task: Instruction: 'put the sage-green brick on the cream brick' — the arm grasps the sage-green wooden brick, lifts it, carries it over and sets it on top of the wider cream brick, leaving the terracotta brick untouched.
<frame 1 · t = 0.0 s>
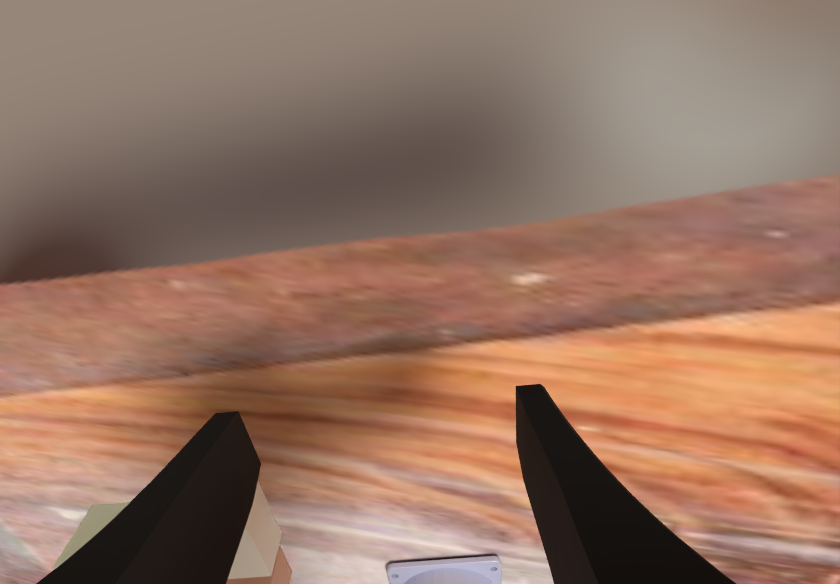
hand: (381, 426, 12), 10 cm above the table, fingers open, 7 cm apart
terracotta brick: (245, 560, 34), on the table
cream brick: (240, 505, 31), on the table
green brick: (137, 529, 32), on the table
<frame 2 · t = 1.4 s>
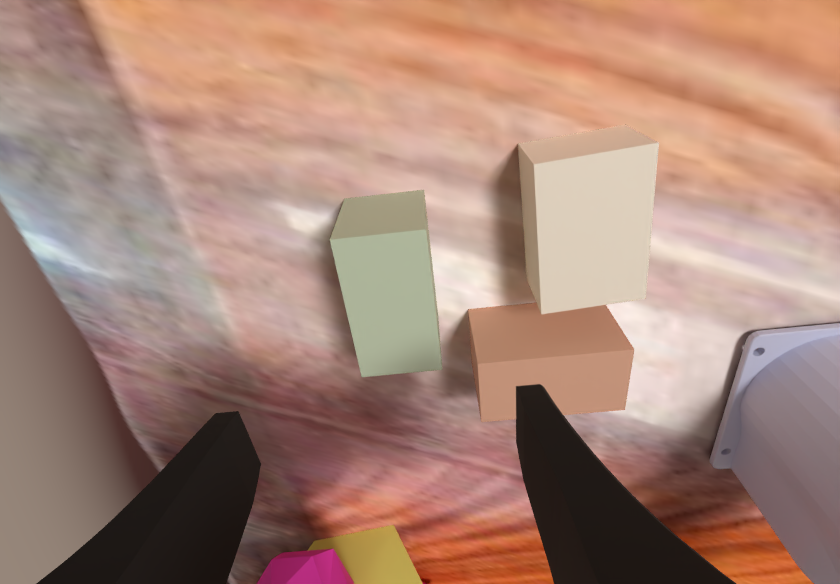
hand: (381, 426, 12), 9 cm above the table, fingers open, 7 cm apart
terracotta brick: (532, 329, 22), on the table
cream brick: (570, 206, 19), on the table
green brick: (394, 259, 20), on the table
toy: (356, 550, 32), on the table
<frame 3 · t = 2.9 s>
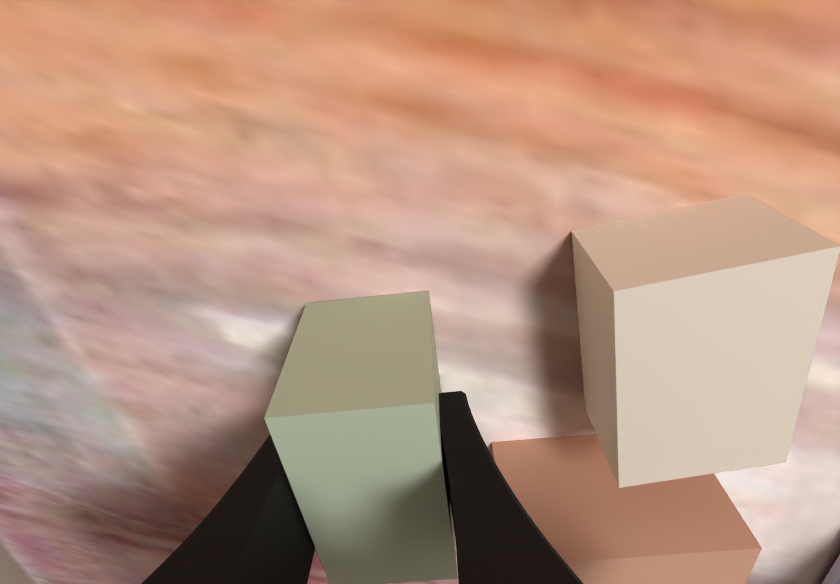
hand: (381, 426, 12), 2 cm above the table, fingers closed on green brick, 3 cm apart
terracotta brick: (582, 465, 16), on the table
cream brick: (651, 310, 13), on the table
green brick: (384, 384, 14), on the table, touching gripper
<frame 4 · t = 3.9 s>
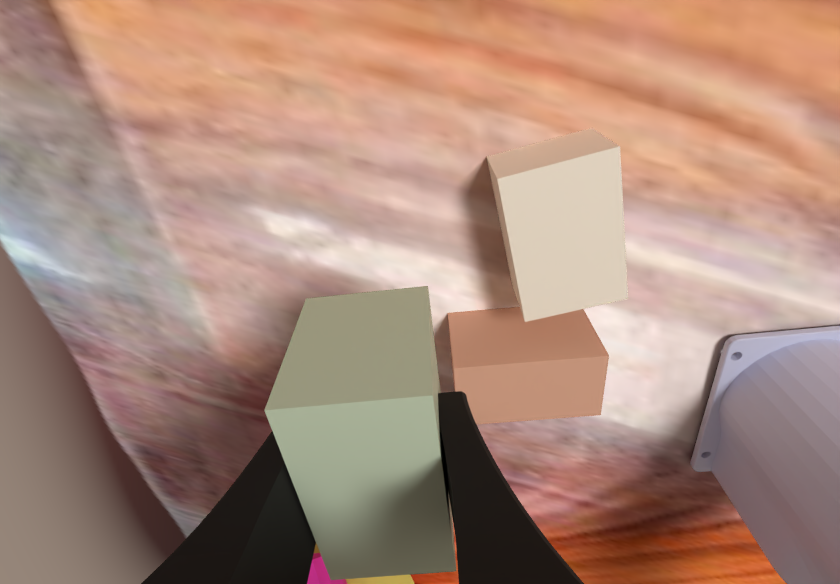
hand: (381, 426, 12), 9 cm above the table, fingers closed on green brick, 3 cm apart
terracotta brick: (512, 333, 23), on the table
cream brick: (547, 212, 20), on the table
green brick: (383, 379, 14), point 8 cm above the table, touching gripper
toy: (350, 552, 32), on the table
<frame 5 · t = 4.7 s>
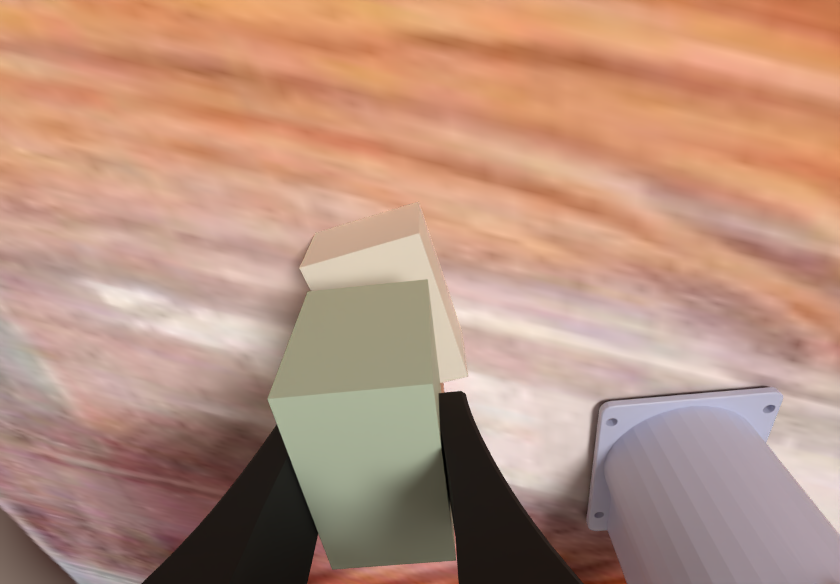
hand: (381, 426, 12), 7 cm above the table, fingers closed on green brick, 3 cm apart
cream brick: (393, 282, 19), on the table
green brick: (384, 372, 14), point 5 cm above the table, touching gripper
when the fingers open (6 cm above the table, at t = 5.3 s): green brick drops 1 cm, resting on cream brick.
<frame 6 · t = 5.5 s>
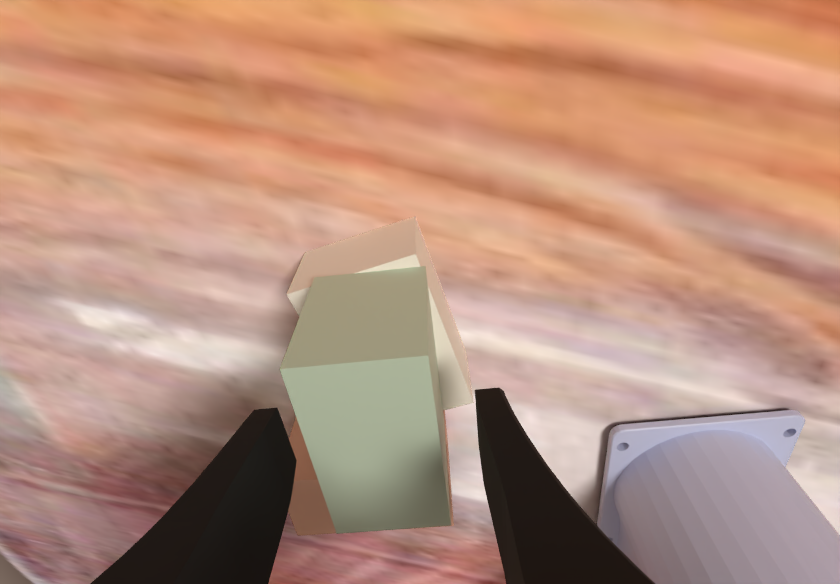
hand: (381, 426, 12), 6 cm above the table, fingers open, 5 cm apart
terracotta brick: (376, 421, 21), on the table
cream brick: (391, 301, 18), on the table, touching green brick
green brick: (385, 354, 15), point 3 cm above the table, touching cream brick
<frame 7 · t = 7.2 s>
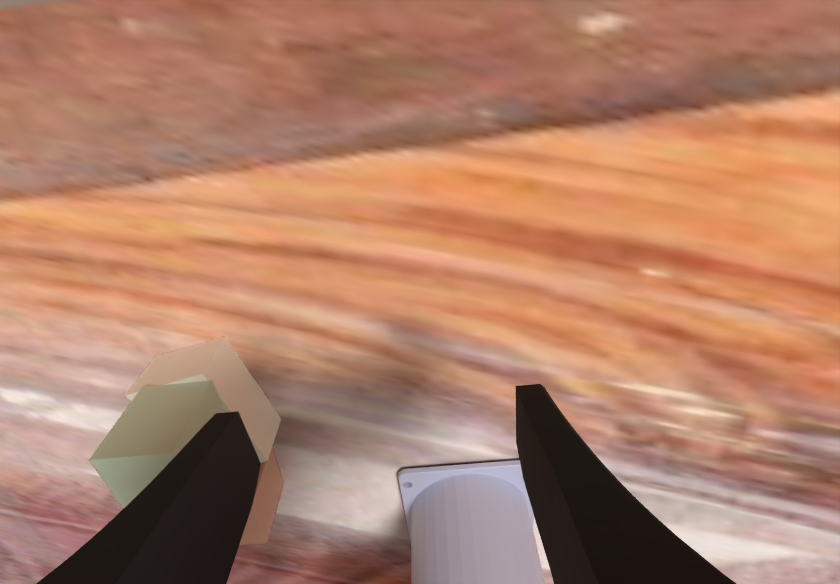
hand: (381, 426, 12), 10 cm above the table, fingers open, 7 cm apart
terracotta brick: (228, 465, 28), on the table
cream brick: (222, 386, 25), on the table, touching green brick
green brick: (200, 430, 23), point 3 cm above the table, touching cream brick
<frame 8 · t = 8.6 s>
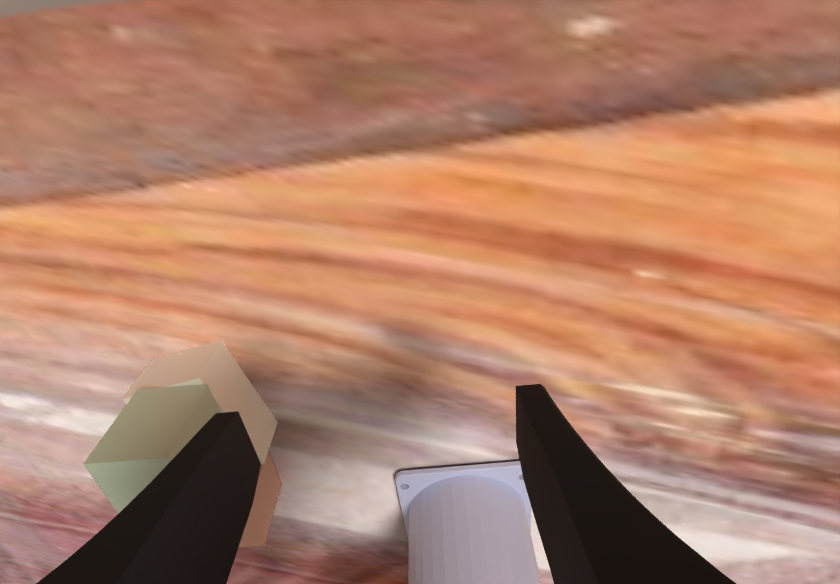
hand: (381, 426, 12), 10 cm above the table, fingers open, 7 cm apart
terracotta brick: (226, 468, 28), on the table
cream brick: (218, 389, 25), on the table, touching green brick
green brick: (195, 433, 23), point 3 cm above the table, touching cream brick
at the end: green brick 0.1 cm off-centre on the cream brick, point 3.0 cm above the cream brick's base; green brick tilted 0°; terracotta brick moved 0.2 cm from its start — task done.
